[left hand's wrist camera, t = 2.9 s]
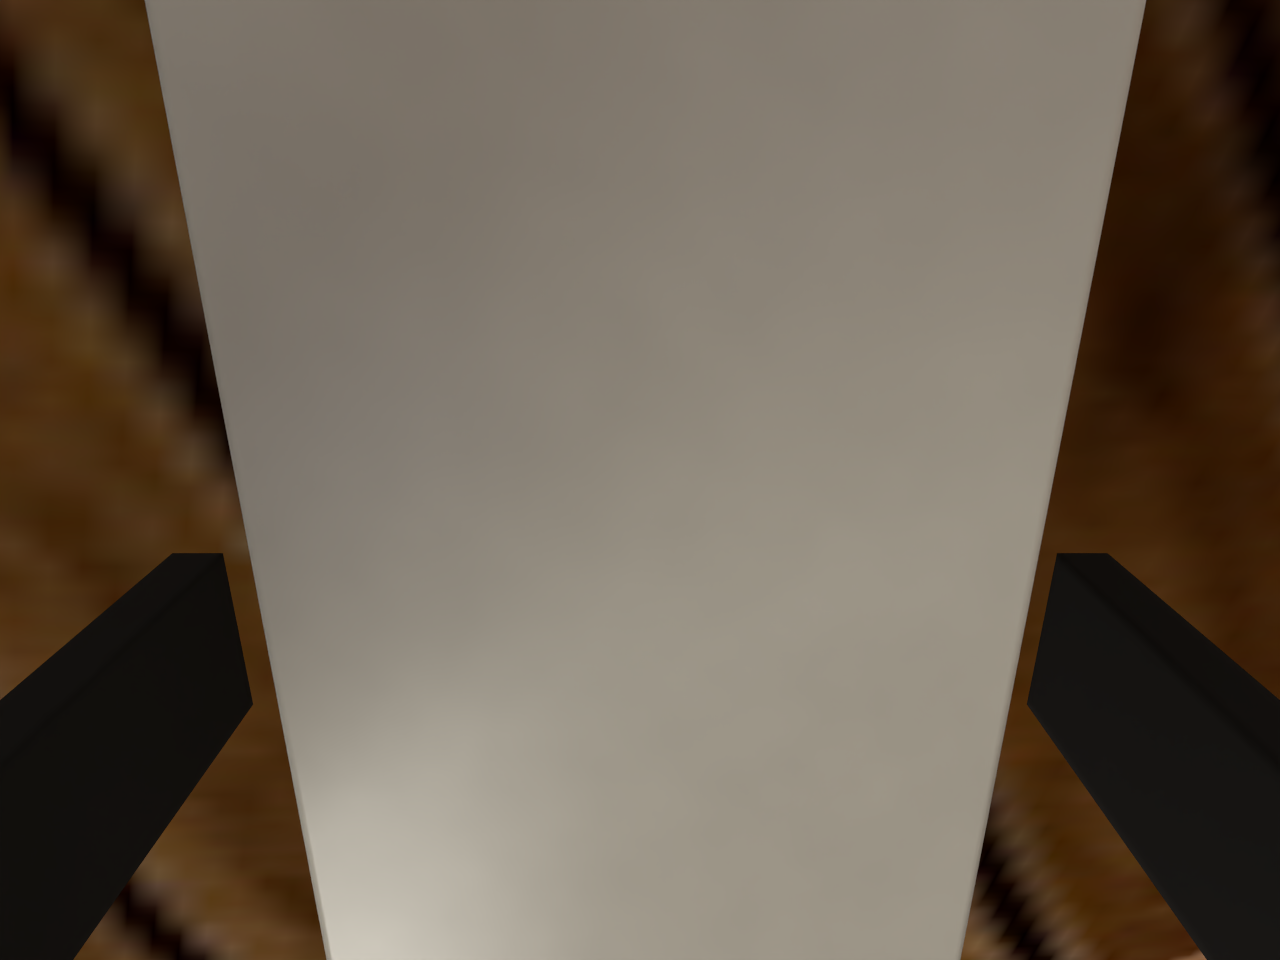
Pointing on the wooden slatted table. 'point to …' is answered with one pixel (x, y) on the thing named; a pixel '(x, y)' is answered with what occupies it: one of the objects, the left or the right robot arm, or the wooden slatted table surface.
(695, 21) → the bar
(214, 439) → the wooden slatted table surface
